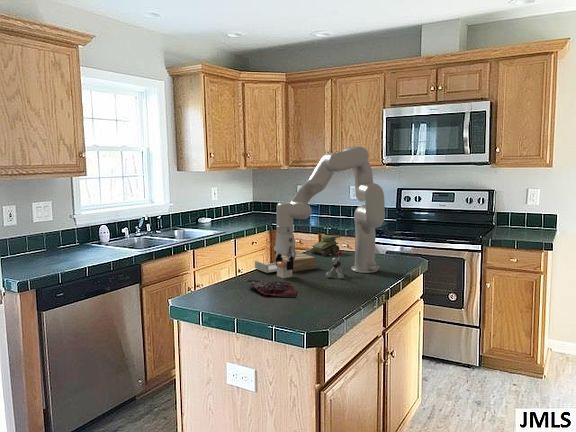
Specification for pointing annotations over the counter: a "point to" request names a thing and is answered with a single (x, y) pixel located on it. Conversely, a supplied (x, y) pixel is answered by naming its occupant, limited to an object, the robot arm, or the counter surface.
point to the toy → (326, 246)
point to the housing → (301, 262)
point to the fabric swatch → (274, 288)
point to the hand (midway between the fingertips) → (284, 267)
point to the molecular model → (336, 266)
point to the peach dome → (282, 263)
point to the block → (283, 272)
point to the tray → (266, 267)
